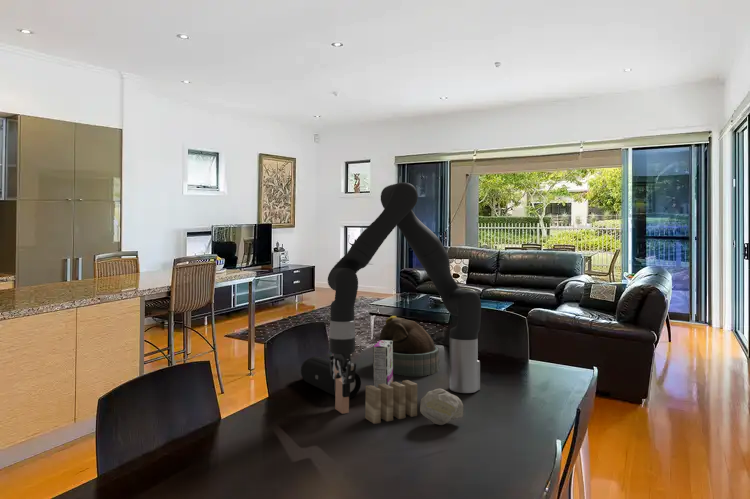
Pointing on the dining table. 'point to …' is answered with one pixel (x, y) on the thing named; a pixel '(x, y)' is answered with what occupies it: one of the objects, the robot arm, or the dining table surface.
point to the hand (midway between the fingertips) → (342, 393)
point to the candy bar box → (383, 362)
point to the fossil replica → (441, 406)
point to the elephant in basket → (410, 348)
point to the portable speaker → (324, 376)
